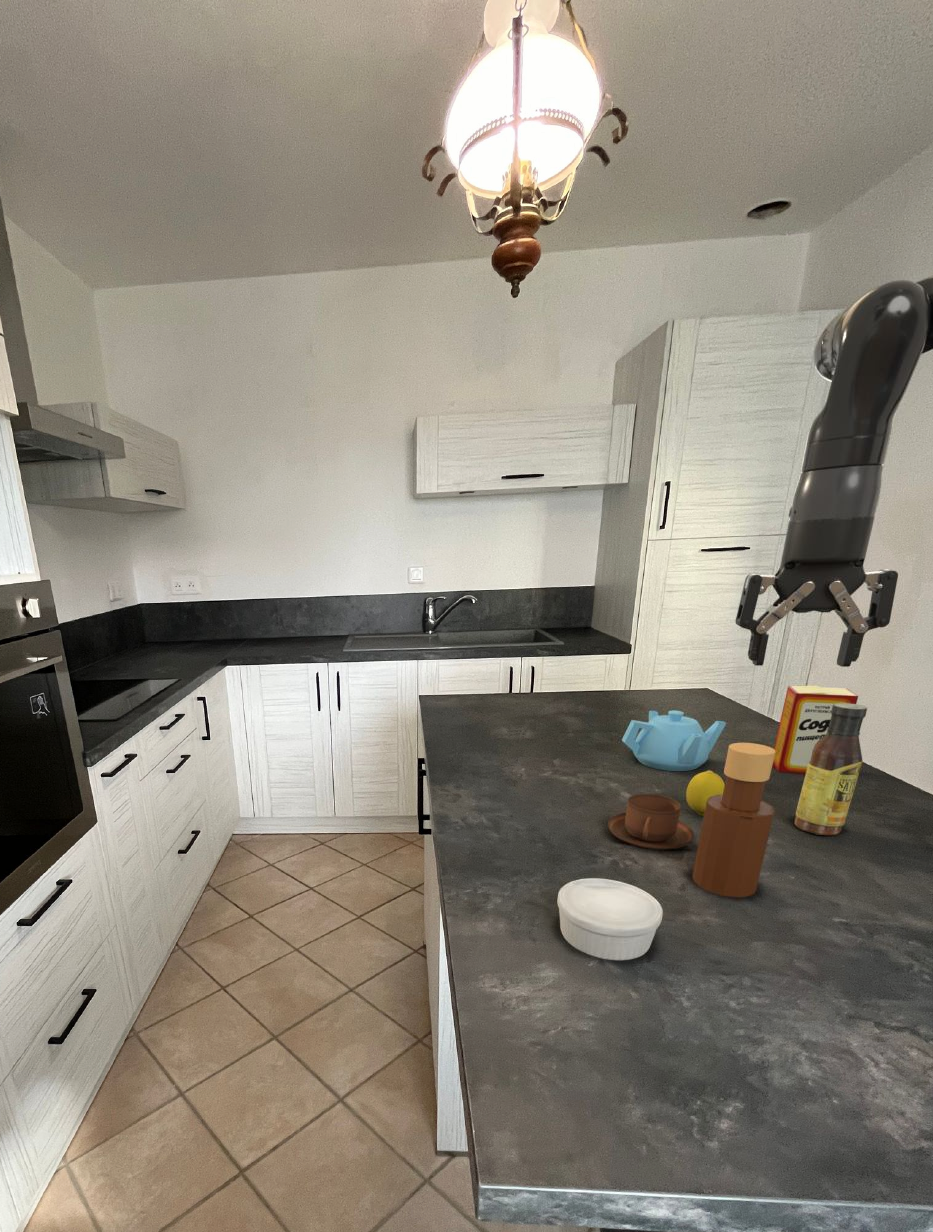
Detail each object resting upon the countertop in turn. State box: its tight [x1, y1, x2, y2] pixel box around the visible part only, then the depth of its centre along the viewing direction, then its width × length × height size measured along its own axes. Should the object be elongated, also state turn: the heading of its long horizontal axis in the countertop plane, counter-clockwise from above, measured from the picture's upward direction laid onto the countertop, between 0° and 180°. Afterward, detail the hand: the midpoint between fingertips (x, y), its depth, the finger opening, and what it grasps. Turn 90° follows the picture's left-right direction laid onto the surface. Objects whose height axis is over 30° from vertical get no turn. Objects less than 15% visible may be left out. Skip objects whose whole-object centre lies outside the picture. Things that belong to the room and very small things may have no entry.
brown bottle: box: [692, 775, 776, 898], centre depth 79 cm, size 7×7×16 cm
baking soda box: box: [772, 685, 859, 775], centre depth 120 cm, size 10×6×16 cm
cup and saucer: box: [607, 793, 695, 851], centre depth 95 cm, size 12×12×6 cm
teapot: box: [621, 710, 727, 772], centre depth 127 cm, size 15×15×11 cm
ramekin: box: [556, 877, 664, 961], centre depth 71 cm, size 11×11×5 cm
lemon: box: [685, 770, 725, 817], centre depth 102 cm, size 6×6×8 cm
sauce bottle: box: [794, 703, 868, 836], centre depth 94 cm, size 6×6×20 cm
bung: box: [723, 742, 775, 782], centre depth 76 cm, size 5×5×6 cm
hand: (799, 665), depth 73 cm, fingers open, 8 cm apart
